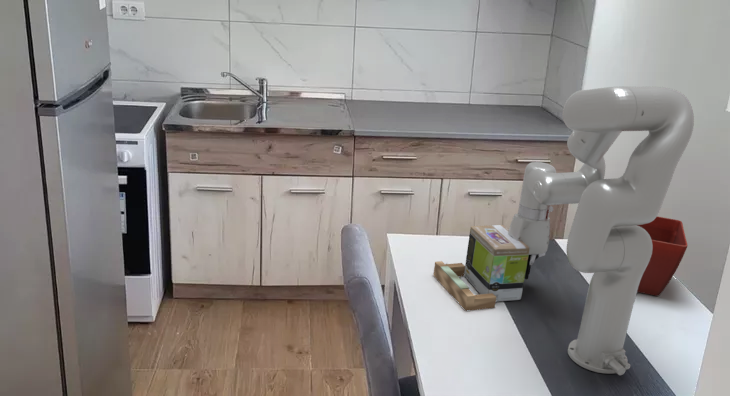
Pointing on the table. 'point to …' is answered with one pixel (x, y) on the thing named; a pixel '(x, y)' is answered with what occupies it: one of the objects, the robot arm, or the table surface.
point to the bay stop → (461, 287)
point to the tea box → (496, 262)
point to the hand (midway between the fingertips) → (522, 276)
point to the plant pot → (662, 254)
